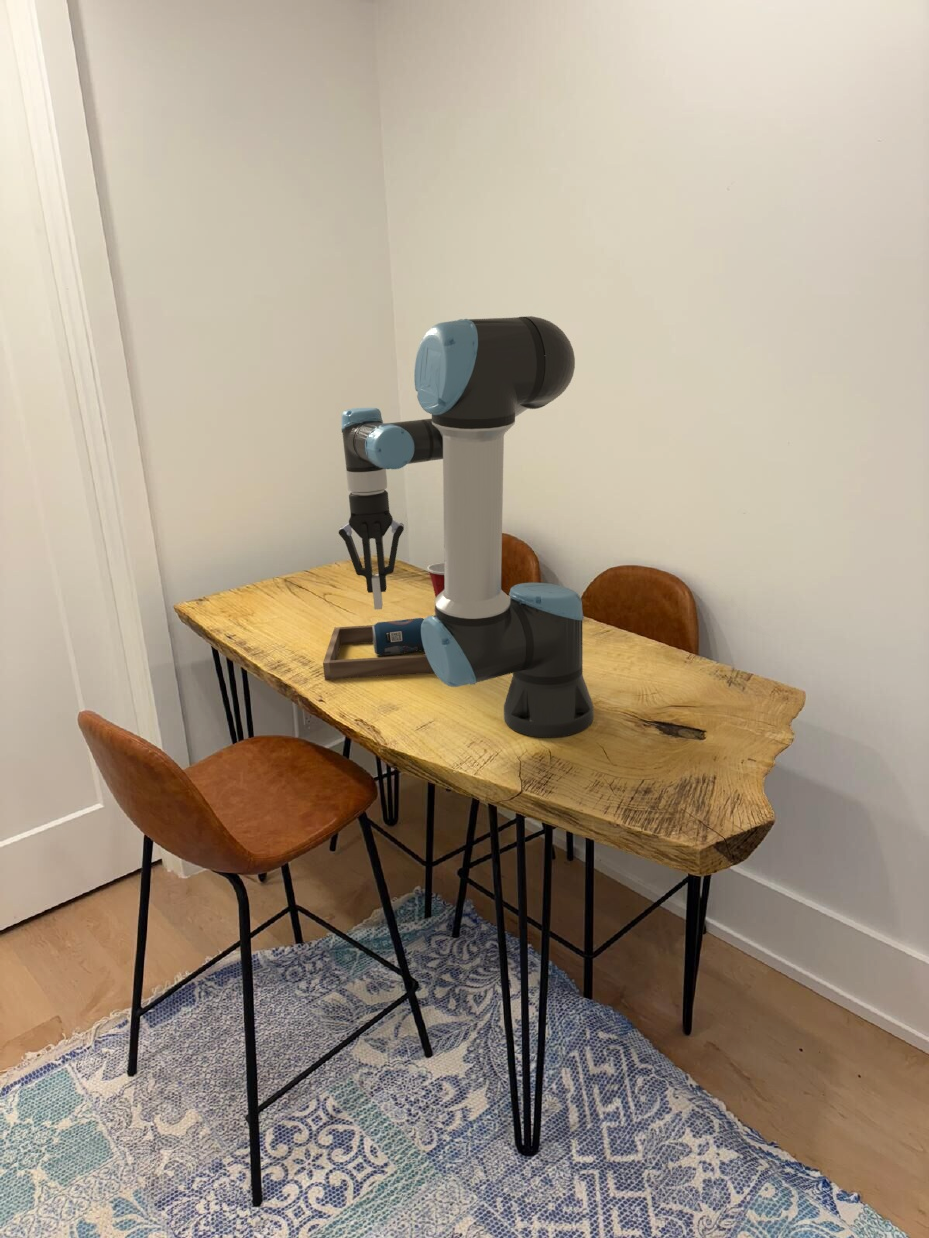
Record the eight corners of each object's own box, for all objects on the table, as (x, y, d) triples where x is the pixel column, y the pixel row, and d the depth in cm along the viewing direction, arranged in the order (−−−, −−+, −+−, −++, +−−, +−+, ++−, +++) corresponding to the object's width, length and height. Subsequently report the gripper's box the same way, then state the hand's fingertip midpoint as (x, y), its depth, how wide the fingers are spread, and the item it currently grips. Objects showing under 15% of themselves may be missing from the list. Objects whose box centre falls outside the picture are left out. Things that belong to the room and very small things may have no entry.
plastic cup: (486, 614, 194) (484, 564, 190) (451, 627, 187) (448, 575, 183) (455, 604, 201) (452, 556, 197) (420, 616, 194) (417, 567, 190)
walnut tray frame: (451, 672, 163) (450, 655, 162) (324, 679, 163) (322, 663, 161) (449, 635, 182) (448, 620, 181) (336, 642, 181) (334, 627, 180)
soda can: (371, 624, 176) (427, 618, 178) (374, 657, 175) (431, 650, 177) (372, 621, 169) (431, 615, 171) (376, 655, 168) (434, 649, 170)
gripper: (402, 485, 164) (411, 599, 172) (336, 489, 164) (348, 603, 172) (401, 493, 157) (410, 611, 165) (331, 497, 157) (344, 615, 165)
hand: (378, 607), depth 168 cm, fingers closed
